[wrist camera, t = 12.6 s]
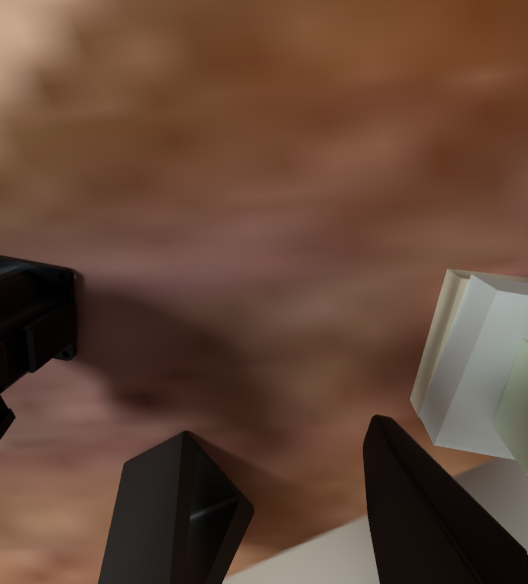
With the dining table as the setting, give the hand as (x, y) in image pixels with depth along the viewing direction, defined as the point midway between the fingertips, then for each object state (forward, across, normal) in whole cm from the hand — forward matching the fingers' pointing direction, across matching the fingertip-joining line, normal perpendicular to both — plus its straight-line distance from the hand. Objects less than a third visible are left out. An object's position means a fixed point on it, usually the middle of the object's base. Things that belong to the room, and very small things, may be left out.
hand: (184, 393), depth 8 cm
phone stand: (+13, +2, +19) cm, 23 cm away
